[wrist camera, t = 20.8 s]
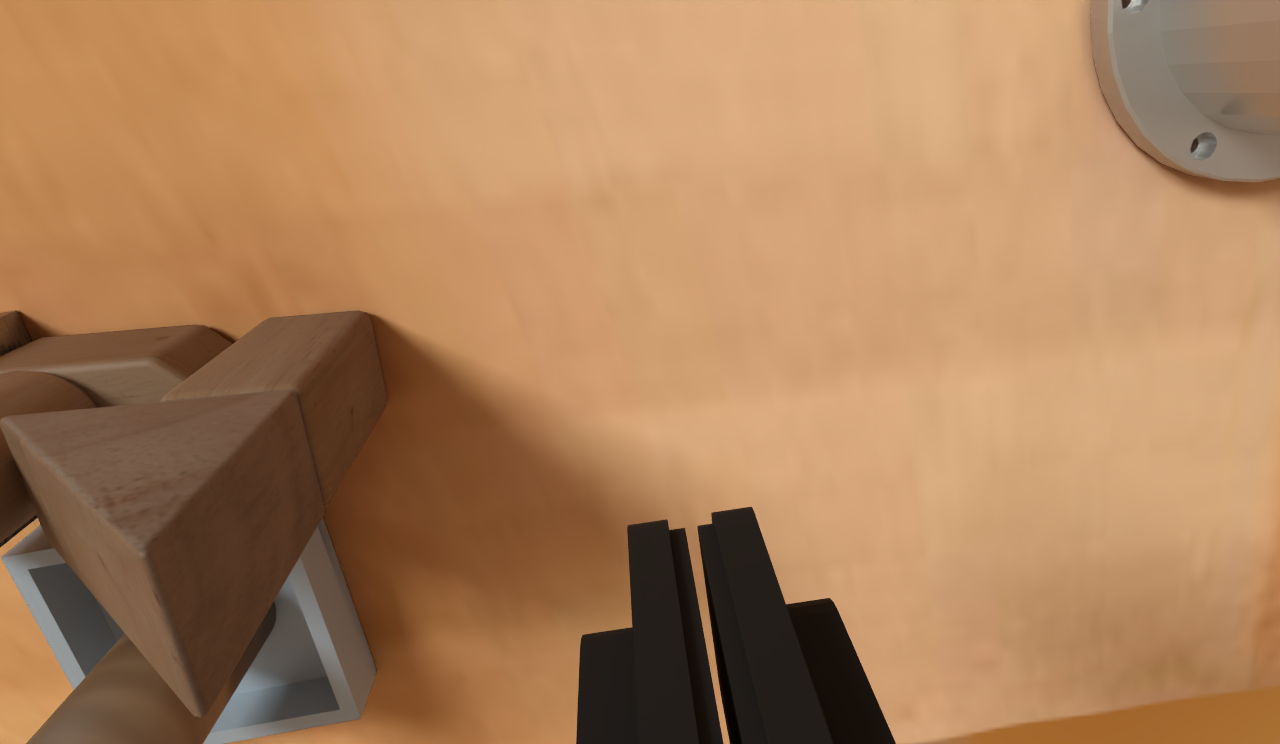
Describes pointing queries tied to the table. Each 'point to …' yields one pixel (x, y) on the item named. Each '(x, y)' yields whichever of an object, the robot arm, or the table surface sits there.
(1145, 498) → the table surface
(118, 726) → the dowel
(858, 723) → the robot arm
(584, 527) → the table surface
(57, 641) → the tray
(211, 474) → the wooden blocks
